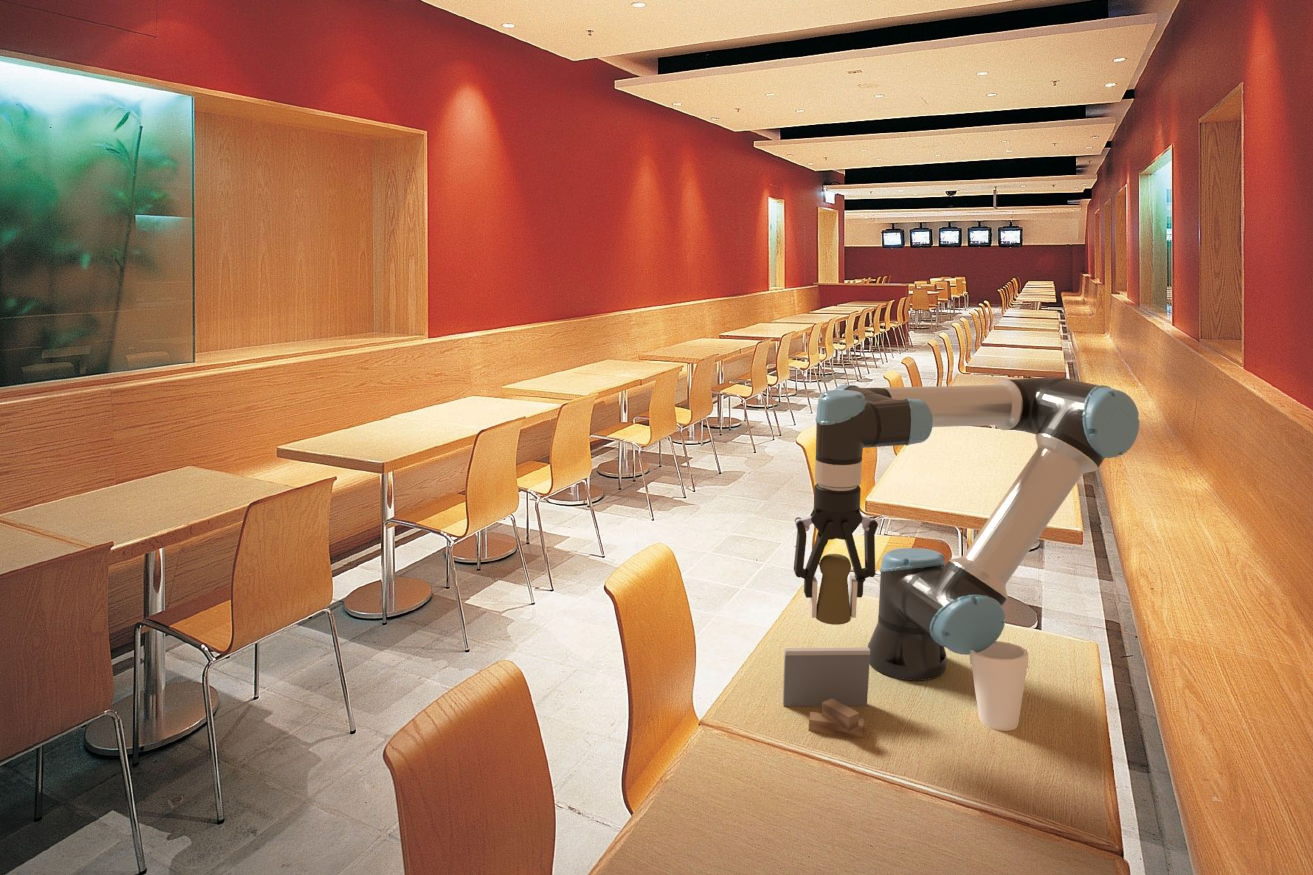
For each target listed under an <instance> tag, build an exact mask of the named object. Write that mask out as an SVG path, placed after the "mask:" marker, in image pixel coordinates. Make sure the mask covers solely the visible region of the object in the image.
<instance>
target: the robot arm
mask: <svg viewBox="0 0 1313 875" xmlns="http://www.w3.org/2000/svg"><path fill="white" fill-rule="evenodd" d="M817 399H818V401H817V407H816V415H815V416H816V417H815V423H816V424H815V427H816V431H815V433H816V434H815V463H814V464H815V465H814V482H816V484H815V485H814V487H813V491H814V492H813V494H814V495H813V509H812V512H811V513H810V516H807V517H802V518H801V517H796V518H794V524H795V527H796V530H797V532H796V541H795V551H794V552H795V553H794V562H793V572H794V574H795V577H796V578H801V579H803V593H804V595H805V596H804V597H805V598H806V599H809V607H808V608H809V609H808V610H809V615H810V616H811V618H812V619H813V618H814V619H816V611H817V601H818V580H817V578H816V572H817V570H818V566H819V565H820V560H821V559H822V557H823V553H824V550H825V548H826V546H827V545H828V542H829V541H830V540H831V541H832V540H836V539H838V540H844V542H845V546H846V549H847V553H848V557H849V561H850V563H851V568H852V570H853V573H854V575H849V582H848V591H849V602H850V614H851V619H852V618H857V601H858V598H862V597H863V595H864V582H866V579H867V578H874V577H875V576H876V548H875V547H876V545H875V543H876V542H875V540H876V538H875V537H876V536H875V535H876V532H877V529H878V526H879V523H878V521H877V520H876V519H875V518H874V516H870V517H866V516H863V515H862V514H861V509H860V508H861V494H862V493H861V492H862V490H861V487H860V486H859V485H861V483H862V466H863V465H862V464H863V462H862V461H863V450H864V449H865V448H866V449H867V448H868V449H869V448H878V447H879V448H881V447H894V446H906V447H907V446H909V445H915V444H920V443H924V442H925V441H927V440H928V439H929V438H930V436H931V433H932V430H933V428H945V427H949V428H950V427H980V426H995V428H997V429H999V430H1002V431H1020V432H1025V433H1029V434H1033V435H1035V437H1034V438H1035V440H1036V444H1037V448H1036V450H1035V451H1034V453H1033V454H1032V456H1031V457H1030V459H1029V460H1028V461H1027V463H1026V464H1025V465H1024V467H1023V469H1022V470H1021V472H1020V473H1019V474H1018V475H1017V477H1016V479H1015V480H1014V482H1013V483H1012V484H1011V486H1010V487H1009V489H1008V490H1007V492H1006V493H1005V495H1004V496H1003V497H1002V499H1001V500H1000V501H999V503H998V504H997V505H996V508H994V510H993V511H992V513H991V514H990V516H989V517H988V519H987V520H986V522H985V524H984V525H983V526H982V528H981V529H980V531H979V532H978V533H977V535H976V537H975V538H974V539H973V541H972V542H971V544H970V545H969V546H968V548H967V549H966V551H965V552H964V554H963V555H962V556H960V557H956V558H951V559H949V560H948V561H947V563H946V559H945V555H944V554H943V553H941V552H939V551H938V550H933V549H929V548H919V547H905V548H904V547H903V548H896V549H891V550H889V551H887V552H886V553H885V554H883V556H882V559H881V564H880V569H879V572H880V576H879V577H880V579H879V597H878V598H879V600H878V617H877V623H876V626H875V628H874V630H873V632H872V635H871V637H870V640H869V642H868V645H867V647H869V649H870V662H869V666H870V667H871V668H873V669H874V670H876V671H877V672H879V673H881V674H883V675H886V676H888V677H893V678H896V679H901V680H906V681H907V680H908V681H927V680H932V679H935V678H938V677H940V676H942V675H943V674H944V673H945V672H946V669H947V661H948V660H947V658H948V657H947V653H946V649H947V650H949V651H950V652H952V653H954V654H958V655H965V656H968V655H969V656H970V650H974V651H975V652H976V653H978V652H981V651H983V650H985V649H987V648H988V647H990V646H991V645H992V644H993V643H994V642H995V641H998V639H999V638H1000V636H1001V635H1002V632H1003V630H1004V628H1005V625H1006V624H1005V622H1004V620H1005V618H1006V615H1005V610H1004V608H1003V606H1004V604H1005V602H1006V601H1007V600H1008V593H1007V588H1006V587H1007V584H1008V582H1009V580H1010V579H1011V578H1012V576H1014V573H1015V572H1016V570H1017V569H1018V568H1019V566H1020V565H1021V564H1022V562H1023V561H1024V559H1025V557H1027V555H1028V553H1029V552H1030V550H1031V549H1032V548H1033V546H1034V544H1035V543H1036V542H1037V541H1038V539H1039V538H1040V536H1041V535H1042V533H1043V531H1044V530H1045V529H1046V527H1047V526H1048V524H1049V523H1050V522H1051V520H1052V519H1053V517H1054V516H1055V514H1056V513H1057V512H1058V510H1059V508H1060V507H1061V506H1062V504H1063V503H1064V501H1065V500H1066V498H1067V497H1068V495H1069V494H1070V492H1071V491H1072V490H1073V488H1074V487H1075V486H1076V484H1077V483H1078V481H1079V480H1080V478H1081V477H1082V476H1083V475H1084V474H1087V473H1092V472H1096V471H1097V470H1099V467H1100V466H1101V464H1102V463H1103V462H1104V460H1105V459H1111V458H1118V457H1119V456H1123V455H1124V454H1126V453H1127V452H1128V451H1129V450H1131V448H1132V447H1133V445H1134V443H1135V442H1136V440H1137V437H1138V435H1139V430H1140V419H1139V409H1138V407H1137V405H1136V402H1135V401H1134V400H1133V398H1131V396H1129V394H1127V393H1126V392H1124V391H1122V390H1120V389H1119V390H1118V389H1115V388H1112V387H1111V386H1108V385H1098V384H1094V383H1089V382H1084V381H1079V380H1074V379H1070V378H1067V377H1061V376H1060V377H1059V376H1047V377H1045V376H1044V377H1032V378H1031V377H1030V378H1029V377H1028V378H1017V379H1016V378H1015V379H1000V380H998V381H997V382H996V383H994V384H992V385H942V386H939V385H938V386H935V385H934V386H899V387H898V386H894V387H893V386H892V387H891V386H889V387H860V386H858V385H855V384H852V385H851V384H842V385H839V386H837V387H836V388H834V389H831V390H826V391H823V392H821V393H820V395H819V396H818V398H817ZM811 525H813V526H814V527H815V528H816V530H817V533H816V535H815V536H816V537H815V538H816V539H815V541H814V544H813V546H812V548H811V549H812V550H811V552H810V555H809V557H808V559H807V560H808V561H807V563H806V564H805V556H806V544H807V532H808V531H809V530H810V527H811ZM860 525H861V527H862V529H863V531H864V532H863V535H864V538H863V539H864V541H863V542H864V544H863V546H864V568H863V567H862V565H861V564H862V562H861V560H860V557H859V554H858V550H857V547H856V542H855V539H854V535H853V534H854V532H855V531H856V530H857V529H858V527H859V526H860ZM804 565H806V566H805V568H804ZM945 648H946V649H945Z"/></svg>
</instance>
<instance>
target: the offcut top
mask: <svg viewBox="0 0 1313 875" xmlns="http://www.w3.org/2000/svg"><path fill="white" fill-rule="evenodd" d="M821 713H822V716H823V717H825V718H827V719H828V720H830V721H832V722H834V723H835V724H837V725H839V726H841V727H842V728H844V729H846V730H848V731H850V730H852V729H854V728H856V727H858V720H859V717H860V712H858V711H856V710H855V709H853V708H851V707H849V706H846V705H844V704H842V703H840V702H838V701H836V700H835V699H833V698H831V699H829V700H826V701H824V702H822V706H821Z"/></svg>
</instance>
